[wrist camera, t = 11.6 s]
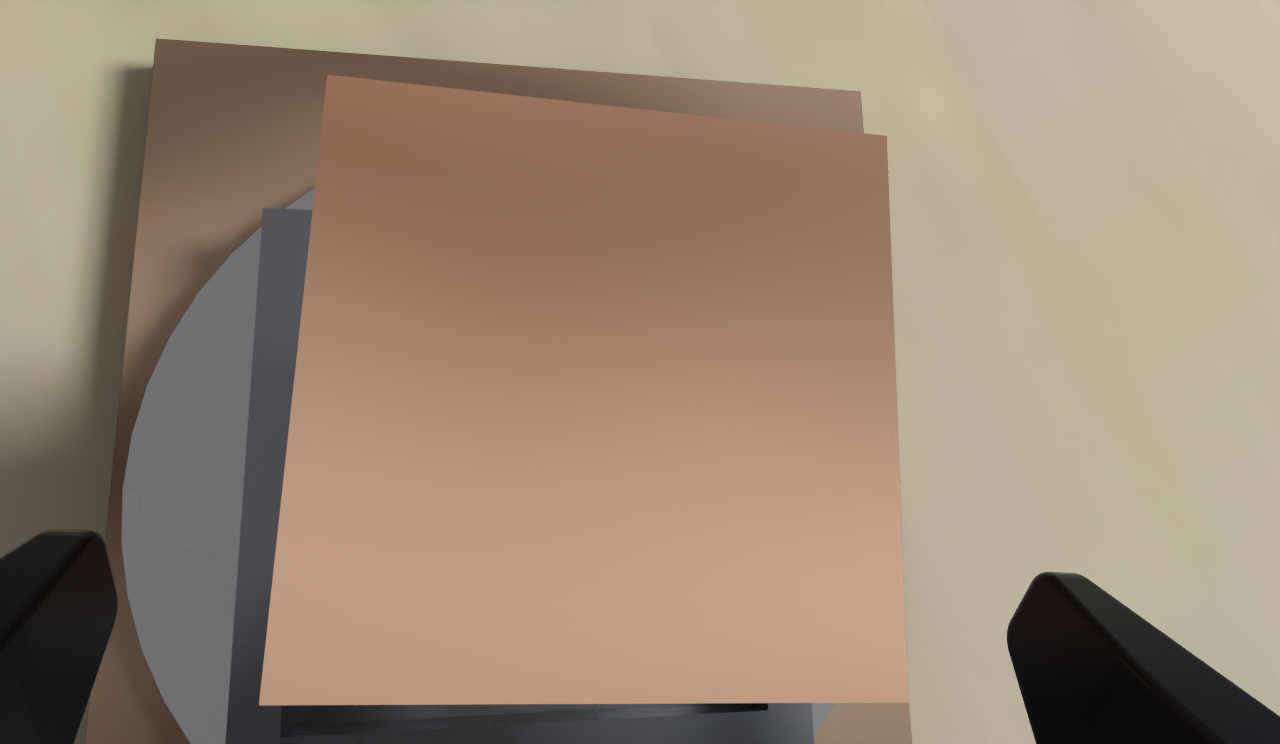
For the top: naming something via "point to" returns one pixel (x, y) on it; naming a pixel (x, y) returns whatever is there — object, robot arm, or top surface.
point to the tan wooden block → (589, 411)
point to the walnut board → (280, 175)
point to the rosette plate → (247, 534)
